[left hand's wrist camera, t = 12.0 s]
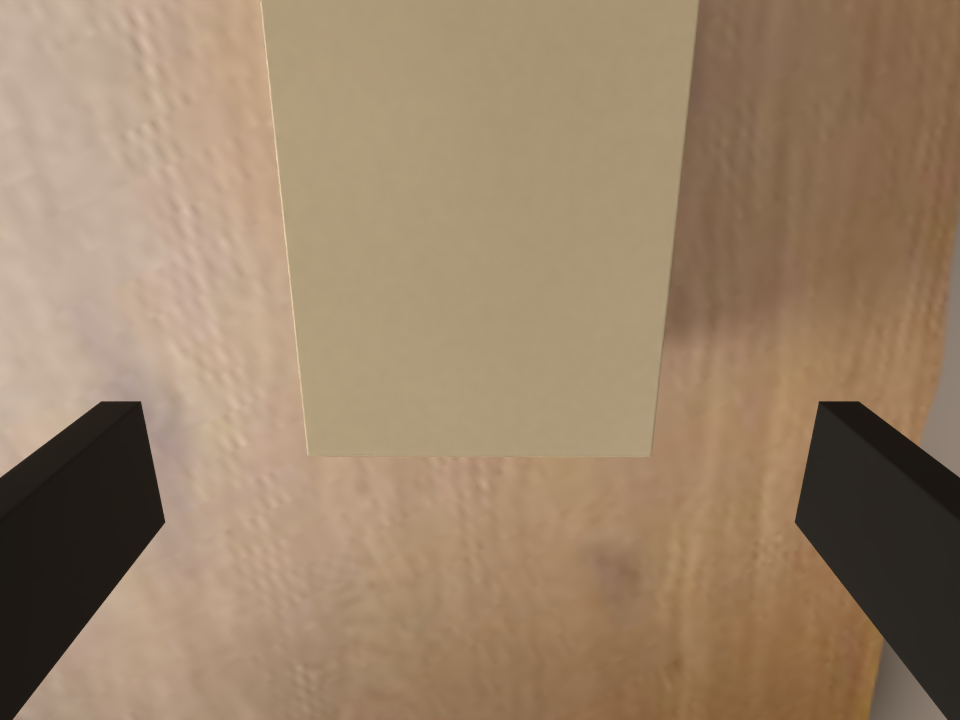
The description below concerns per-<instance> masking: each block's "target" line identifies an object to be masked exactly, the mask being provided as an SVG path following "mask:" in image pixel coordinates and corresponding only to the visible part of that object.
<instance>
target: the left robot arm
mask: <svg viewBox="0 0 960 720" xmlns="http://www.w3.org/2000/svg"><path fill="white" fill-rule="evenodd" d="M164 523H165V519H164V514H163V509H162V504H161V499H160V494H159V489H158V484H157V479H156V474H155V469H154V464H153V459H152V454H151V449H150V444H149V439H148V434H147V429H146V424H145V419H144V415H143V410H142V405H141V401H101V402H100V403H99V404H97V405H96V406H95V407H93V408H92V409H91V410H89V411H88V412H87V413H85V414H84V415H83V416H81V417H80V418H79V419H77V420H76V421H75V422H73V423H72V424H71V425H69V426H68V427H67V428H66V429H64V430H63V431H62V432H60V433H59V434H58V435H56V436H55V437H54V438H52V439H51V440H50V441H48V442H47V443H46V444H44V445H43V446H42V447H40V448H39V449H38V450H36V451H35V452H34V453H32V454H31V455H30V456H28V457H27V458H26V459H24V460H23V461H22V462H20V463H19V464H18V465H17V466H15V467H14V468H13V469H11V470H10V471H9V472H7V473H6V474H5V475H3V476H2V477H1V478H0V720H13V718H14V717H15V716H16V714H17V713H18V712H19V711H20V709H21V708H22V707H23V705H24V704H25V703H26V702H27V700H28V699H29V698H30V696H31V695H32V694H33V692H34V691H35V690H36V689H37V687H38V686H39V685H40V683H41V682H42V681H43V680H44V678H45V677H46V676H47V674H48V673H49V672H50V671H51V669H52V668H53V667H54V665H55V664H56V663H57V661H58V660H59V659H60V658H61V656H62V655H63V654H64V652H65V651H66V650H67V649H68V647H69V646H70V645H71V643H72V642H73V641H74V639H75V638H76V637H77V636H78V634H79V633H80V632H81V630H82V629H83V628H84V627H85V625H86V624H87V623H88V621H89V620H90V619H91V618H92V616H93V615H94V614H95V612H96V611H97V610H98V608H99V607H100V606H101V605H102V603H103V602H104V601H105V599H106V598H107V597H108V596H109V594H110V593H111V592H112V590H113V589H114V588H115V587H116V585H117V584H118V583H119V581H120V580H121V579H122V577H123V576H124V575H125V574H126V572H127V571H128V570H129V568H130V567H131V566H132V565H133V563H134V562H135V561H136V559H137V558H138V557H139V556H140V554H141V553H142V552H143V550H144V549H145V548H146V546H147V545H148V544H149V543H150V541H151V540H152V539H153V537H154V536H155V535H156V534H157V532H158V531H159V530H160V528H161V527H162V526H163V525H164ZM795 523H796V525H797V526H798V527H799V528H800V530H801V531H802V532H803V534H804V535H805V536H806V537H807V539H808V540H809V541H810V543H811V544H812V545H813V546H814V548H815V549H816V550H817V552H818V553H819V554H820V556H821V557H822V558H823V559H824V561H825V562H826V563H827V565H828V566H829V567H830V568H831V570H832V571H833V572H834V574H835V575H836V576H837V577H838V579H839V580H840V581H841V583H842V584H843V585H844V587H845V588H846V589H847V590H848V592H849V593H850V594H851V596H852V597H853V598H854V599H855V601H856V602H857V603H858V605H859V606H860V607H861V608H862V610H863V611H864V612H865V614H866V615H867V616H868V618H869V619H870V620H871V621H872V623H873V624H874V625H875V627H876V628H877V629H878V630H879V632H880V633H881V634H882V636H883V637H884V638H885V639H886V641H887V642H888V643H889V645H890V646H891V647H892V649H893V650H894V651H895V652H896V654H897V655H898V656H899V657H900V659H901V660H902V661H903V663H904V664H905V665H906V667H907V668H908V669H909V670H910V672H911V673H912V674H913V676H914V677H915V678H916V680H917V681H918V682H919V683H920V685H921V686H922V687H923V689H924V690H925V691H926V692H927V694H928V695H929V696H930V698H931V699H932V700H933V702H934V703H935V704H936V705H937V707H938V708H939V709H940V710H941V712H942V713H943V714H944V716H945V717H946V718H947V720H960V478H959V477H958V476H957V475H955V474H954V473H953V472H951V471H950V470H949V469H947V468H946V467H945V466H943V465H942V464H941V463H940V462H938V461H937V460H935V459H934V458H933V457H932V456H930V455H929V454H928V453H926V452H925V451H924V450H922V449H921V448H920V447H918V446H917V445H916V444H914V443H913V442H912V441H910V440H909V439H908V438H906V437H905V436H904V435H902V434H901V433H900V432H898V431H897V430H896V429H894V428H893V427H892V426H890V425H889V424H888V423H887V422H885V421H884V420H883V419H881V418H880V417H879V416H877V415H876V414H875V413H873V412H872V411H871V410H869V409H868V408H867V407H865V406H864V405H863V404H861V403H860V402H859V401H819V405H818V410H817V415H816V419H815V424H814V429H813V434H812V439H811V444H810V449H809V454H808V459H807V464H806V469H805V474H804V479H803V484H802V489H801V494H800V499H799V504H798V509H797V514H796V519H795Z"/></svg>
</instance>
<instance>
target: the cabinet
mask: <svg viewBox="0 0 960 720" xmlns="http://www.w3.org/2000/svg"><path fill="white" fill-rule="evenodd" d="M260 5H261V15H262V25H263V34H264V44H265V53H266V63H267V72H268V82H269V92H270V101H271V111H272V120H273V130H274V139H275V149H276V158H277V168H278V178H279V187H280V197H281V206H282V216H283V225H284V235H285V245H286V254H287V264H288V273H289V283H290V292H291V302H292V311H293V321H294V331H295V340H296V350H297V359H298V369H299V378H300V388H301V398H302V407H303V417H304V426H305V436H306V445H307V455H308V456H309V457H651V455H652V448H653V438H654V429H655V419H656V410H657V400H658V391H659V382H660V372H661V363H662V353H663V344H664V335H665V325H666V316H667V306H668V297H669V288H670V278H671V269H672V259H673V250H674V240H675V231H676V222H677V212H678V203H679V193H680V184H681V175H682V165H683V156H684V146H685V137H686V127H687V118H688V109H689V99H690V90H691V80H692V71H693V62H694V52H695V43H696V33H697V24H698V15H699V5H700V0H260Z"/></svg>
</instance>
